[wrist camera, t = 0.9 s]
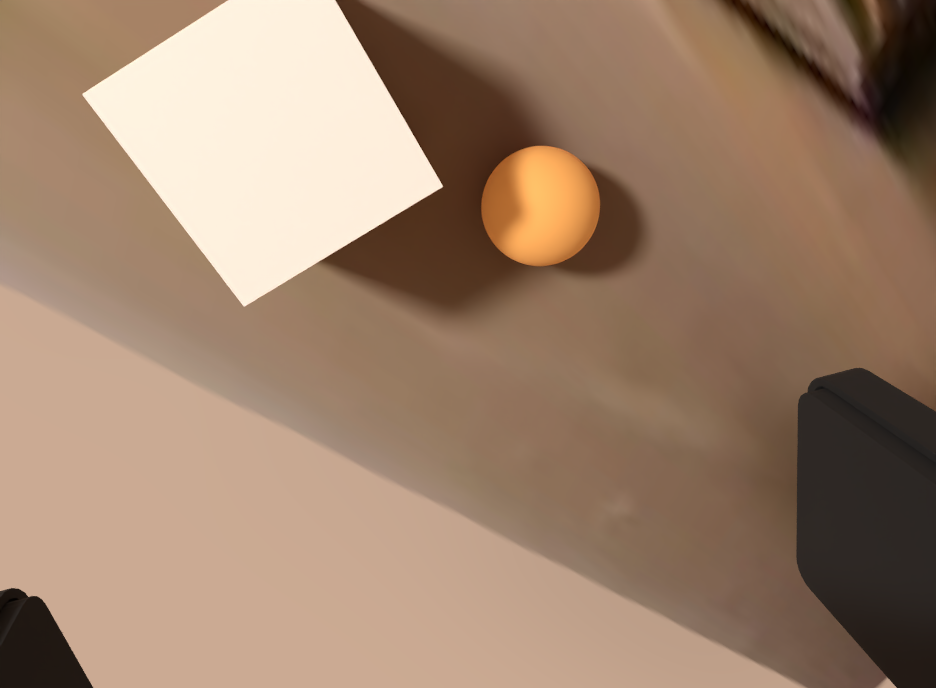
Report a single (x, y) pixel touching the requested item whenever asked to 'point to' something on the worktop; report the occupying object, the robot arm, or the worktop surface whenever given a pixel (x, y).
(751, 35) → the worktop surface
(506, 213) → the ball
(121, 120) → the cream matte cube
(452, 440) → the worktop surface
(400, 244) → the worktop surface
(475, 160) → the worktop surface
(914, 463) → the robot arm
